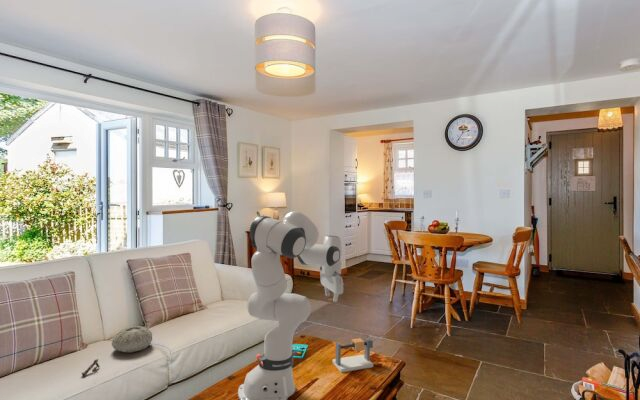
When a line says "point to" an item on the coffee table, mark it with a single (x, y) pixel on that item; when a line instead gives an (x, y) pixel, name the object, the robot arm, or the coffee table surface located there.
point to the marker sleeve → (358, 344)
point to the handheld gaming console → (299, 349)
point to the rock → (132, 339)
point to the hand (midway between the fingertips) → (331, 298)
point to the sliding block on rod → (353, 358)
